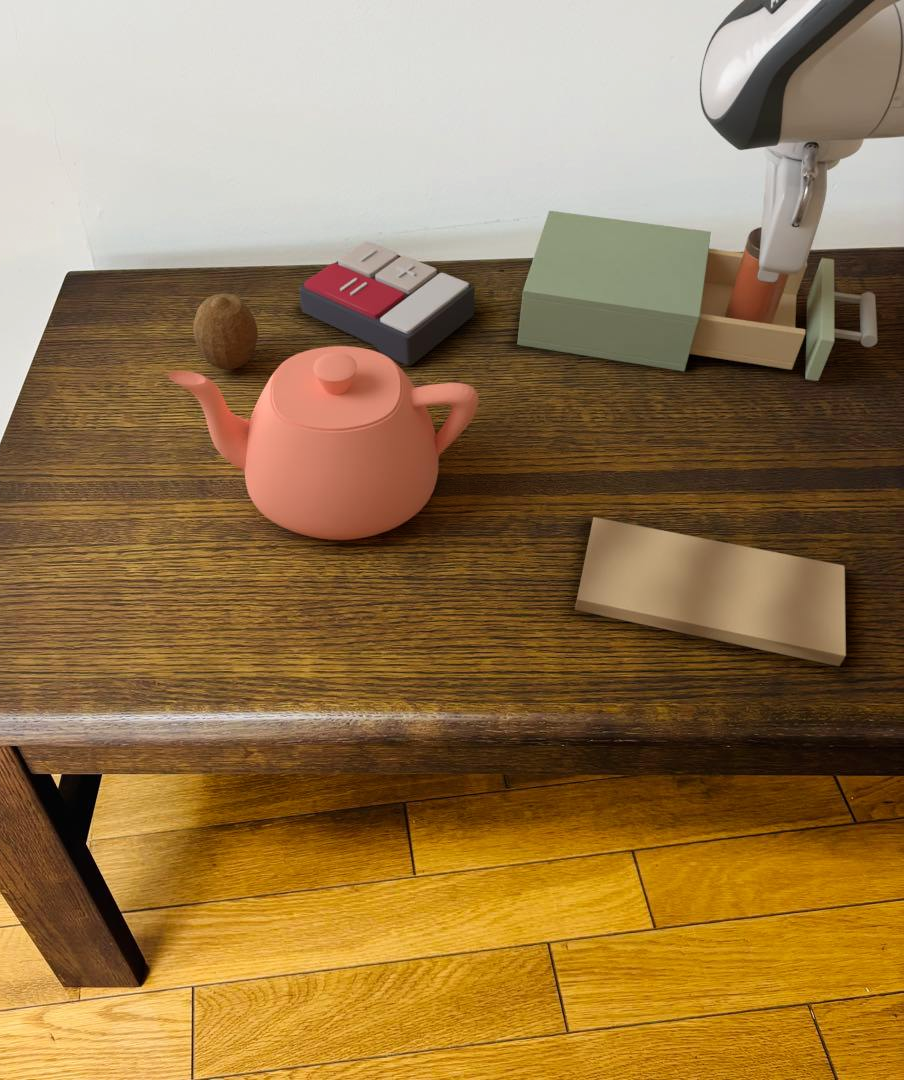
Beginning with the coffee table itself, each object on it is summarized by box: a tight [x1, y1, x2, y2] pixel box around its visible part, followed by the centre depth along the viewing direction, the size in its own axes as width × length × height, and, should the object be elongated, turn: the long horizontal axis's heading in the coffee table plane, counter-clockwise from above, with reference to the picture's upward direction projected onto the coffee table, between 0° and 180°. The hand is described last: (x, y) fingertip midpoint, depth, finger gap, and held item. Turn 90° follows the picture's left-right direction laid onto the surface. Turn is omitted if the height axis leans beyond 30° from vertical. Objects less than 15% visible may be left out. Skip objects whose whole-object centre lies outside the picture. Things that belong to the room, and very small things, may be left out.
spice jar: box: [725, 226, 789, 324], centre depth 96 cm, size 5×5×9 cm
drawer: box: [689, 248, 878, 382], centre depth 98 cm, size 20×13×5 cm
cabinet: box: [516, 210, 712, 372], centre depth 101 cm, size 17×15×7 cm
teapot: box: [167, 345, 480, 541], centre depth 84 cm, size 25×17×13 cm
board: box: [574, 516, 847, 667], centre depth 80 cm, size 20×9×2 cm, turn 73°
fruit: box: [192, 293, 259, 370], centre depth 98 cm, size 6×6×8 cm
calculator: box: [298, 240, 475, 367], centre depth 104 cm, size 11×4×15 cm
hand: (767, 259), depth 94 cm, fingers closed on spice jar, 4 cm apart
